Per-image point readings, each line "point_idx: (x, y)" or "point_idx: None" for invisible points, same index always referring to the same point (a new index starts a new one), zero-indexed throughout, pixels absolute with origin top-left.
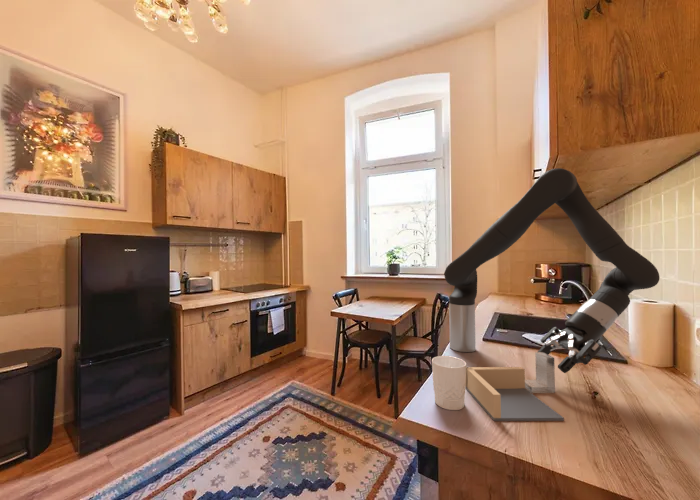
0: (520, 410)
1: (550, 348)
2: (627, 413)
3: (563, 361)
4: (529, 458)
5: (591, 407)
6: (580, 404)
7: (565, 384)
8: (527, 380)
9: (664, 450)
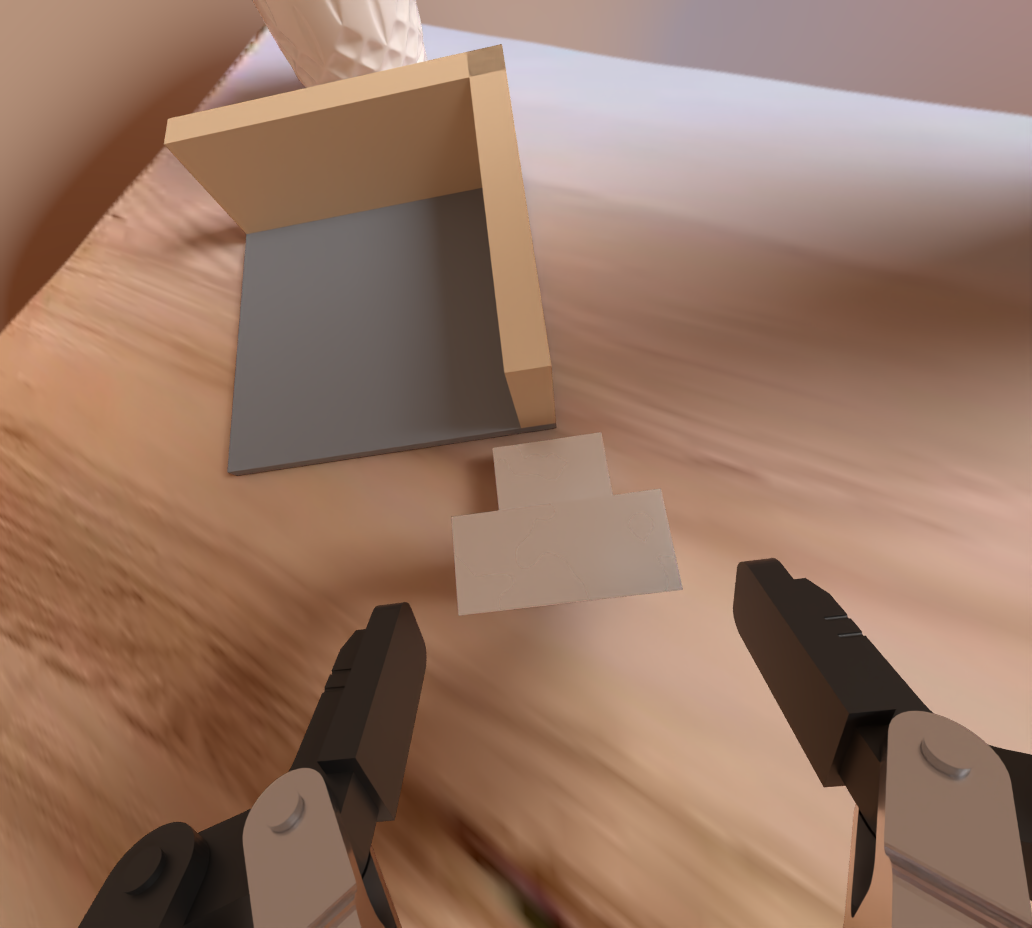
0: (293, 319)
1: (867, 808)
2: None
3: (361, 668)
4: (76, 265)
5: None
6: None
7: (669, 774)
8: (595, 466)
9: (7, 769)
